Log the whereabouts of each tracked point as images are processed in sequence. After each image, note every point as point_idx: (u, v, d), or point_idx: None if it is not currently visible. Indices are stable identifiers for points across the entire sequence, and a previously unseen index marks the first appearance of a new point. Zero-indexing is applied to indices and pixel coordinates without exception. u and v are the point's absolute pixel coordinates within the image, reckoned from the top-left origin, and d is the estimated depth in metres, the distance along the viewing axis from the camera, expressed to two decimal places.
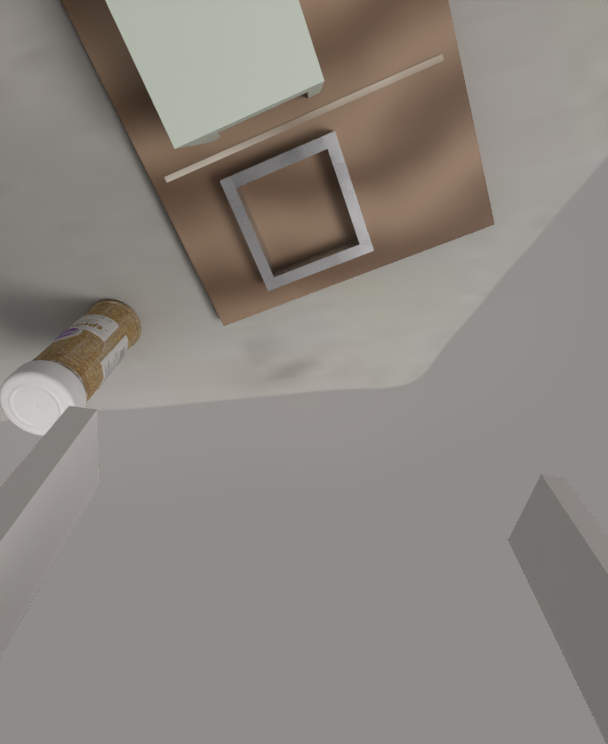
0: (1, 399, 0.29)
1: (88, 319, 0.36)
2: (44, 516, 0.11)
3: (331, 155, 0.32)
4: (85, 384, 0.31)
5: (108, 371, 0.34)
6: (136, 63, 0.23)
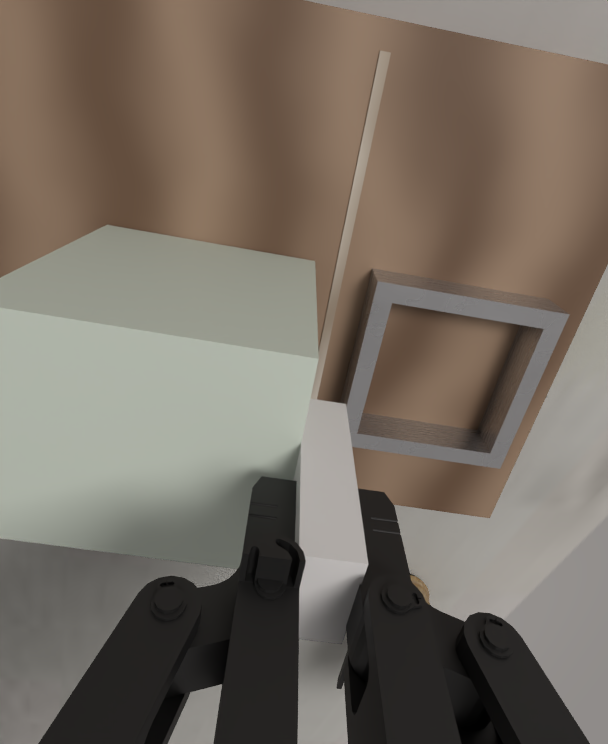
0: None
1: None
2: None
3: (403, 302, 0.20)
4: None
5: None
6: (156, 557, 0.16)
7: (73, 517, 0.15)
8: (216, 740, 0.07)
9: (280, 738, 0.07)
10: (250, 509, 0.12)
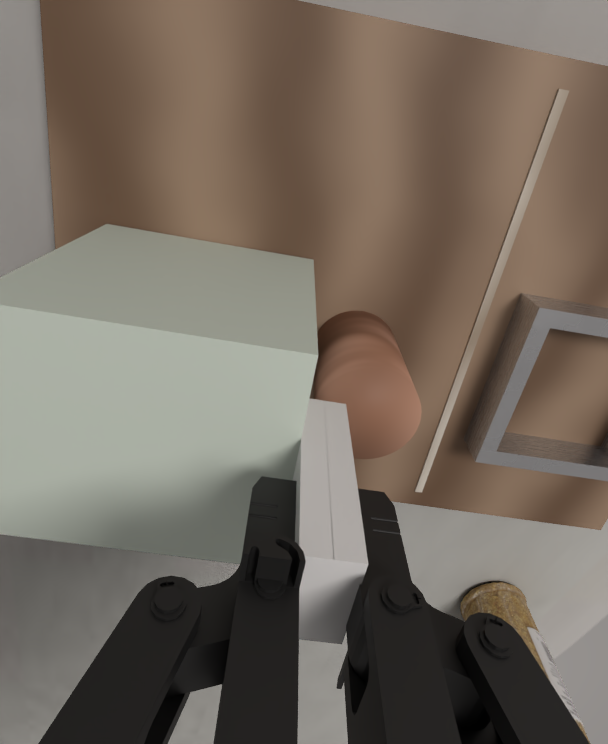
0: None
1: None
2: None
3: (561, 327, 0.21)
4: None
5: (572, 704, 0.27)
6: (158, 552, 0.16)
7: (75, 513, 0.15)
8: (216, 740, 0.07)
9: (280, 738, 0.07)
10: (250, 509, 0.12)
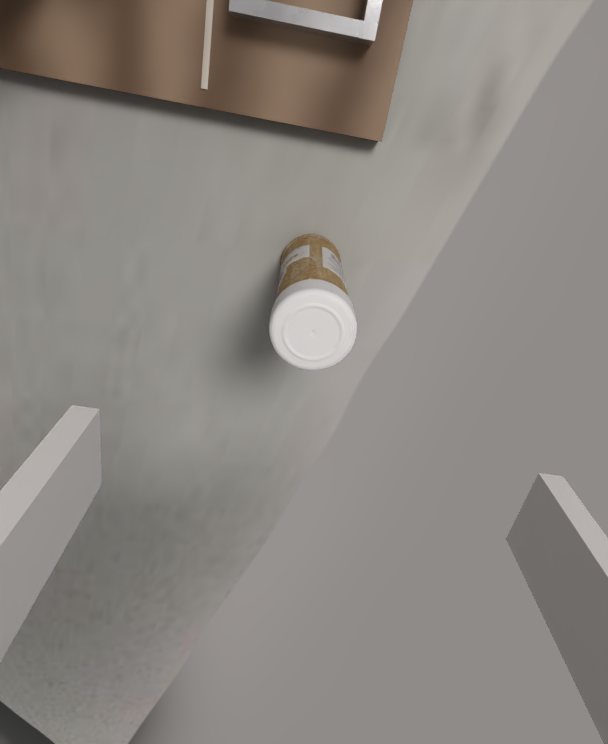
0: (285, 357, 0.25)
1: (283, 264, 0.32)
2: (47, 515, 0.11)
3: None
4: (328, 281, 0.26)
5: (338, 272, 0.29)
6: None
7: None
8: None
9: None
10: None
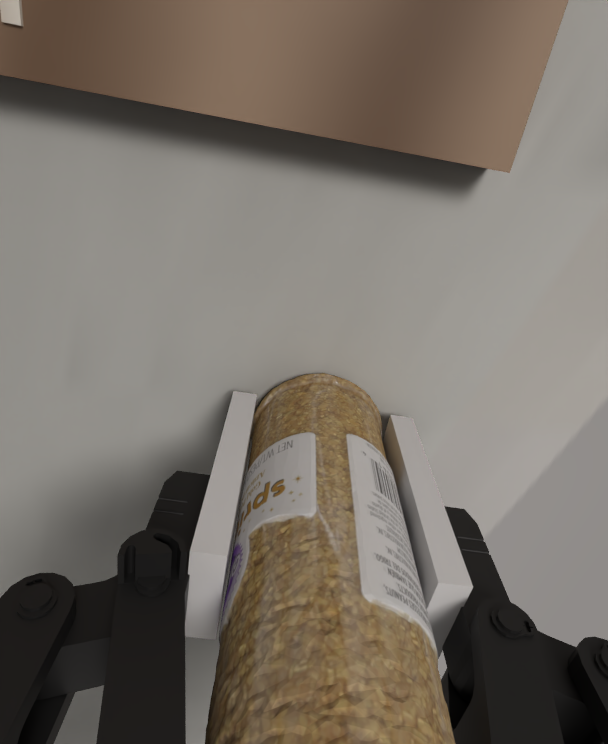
0: None
1: (248, 487, 0.12)
2: (242, 480, 0.13)
3: None
4: None
5: (407, 581, 0.09)
6: None
7: None
8: None
9: (167, 736, 0.07)
10: (157, 504, 0.11)
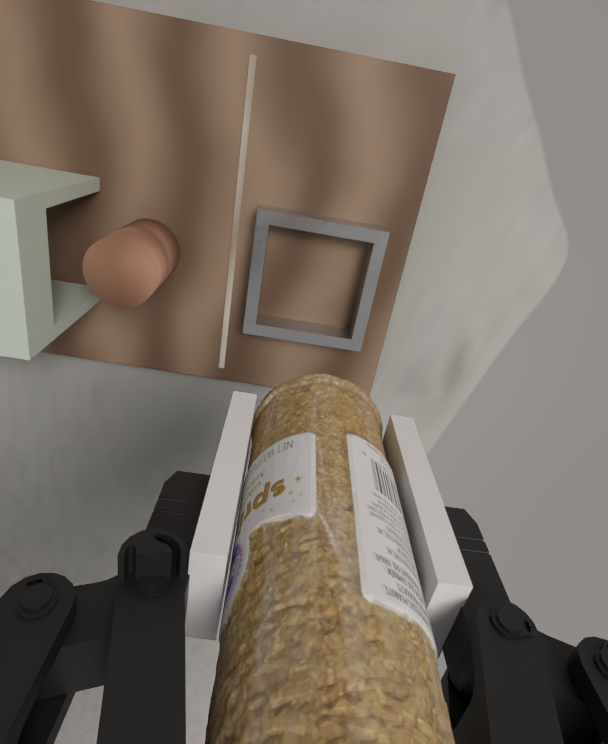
0: None
1: (248, 487, 0.12)
2: (242, 480, 0.13)
3: (276, 224, 0.30)
4: None
5: (407, 581, 0.09)
6: None
7: None
8: None
9: (167, 735, 0.07)
10: (157, 504, 0.11)
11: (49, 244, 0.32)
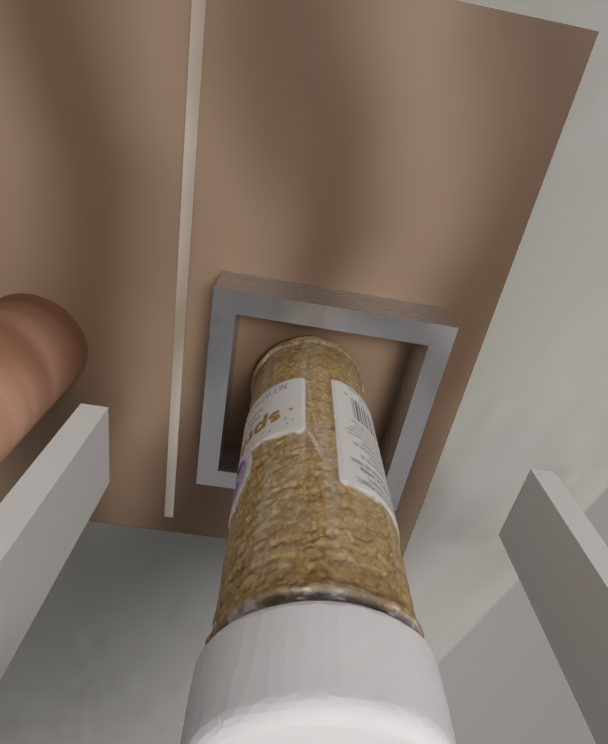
0: None
1: (250, 422, 0.15)
2: (59, 511, 0.11)
3: (250, 313, 0.16)
4: (364, 589, 0.09)
5: (376, 478, 0.12)
6: None
7: None
8: None
9: None
10: None
11: None
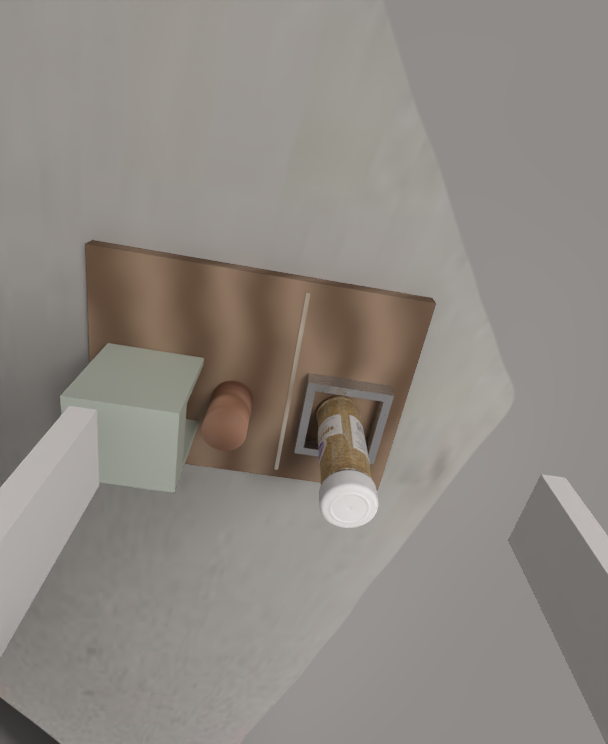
0: (330, 521, 0.38)
1: (321, 429, 0.44)
2: (44, 516, 0.11)
3: (320, 391, 0.45)
4: (359, 469, 0.38)
5: (363, 447, 0.41)
6: (128, 485, 0.40)
7: None
8: None
9: None
10: None
11: None
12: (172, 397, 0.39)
